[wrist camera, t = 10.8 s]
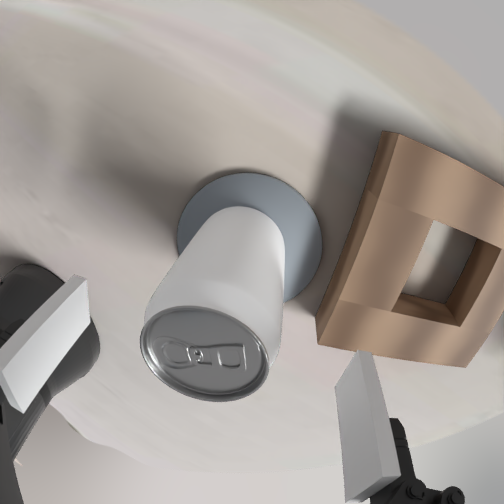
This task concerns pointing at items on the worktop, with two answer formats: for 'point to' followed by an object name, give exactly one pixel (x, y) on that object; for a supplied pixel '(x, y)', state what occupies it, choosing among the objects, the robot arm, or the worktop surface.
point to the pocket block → (405, 255)
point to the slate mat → (271, 204)
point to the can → (219, 309)
